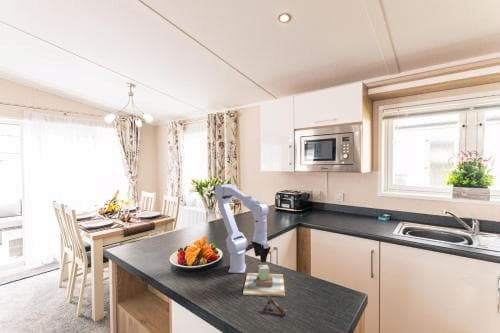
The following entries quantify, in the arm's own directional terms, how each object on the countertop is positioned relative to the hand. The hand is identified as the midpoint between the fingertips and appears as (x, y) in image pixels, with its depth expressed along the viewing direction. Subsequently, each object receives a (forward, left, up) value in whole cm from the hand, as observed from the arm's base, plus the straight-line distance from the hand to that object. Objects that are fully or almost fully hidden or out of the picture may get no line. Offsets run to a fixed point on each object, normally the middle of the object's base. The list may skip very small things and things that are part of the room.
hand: (260, 258), depth 111 cm
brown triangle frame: (+24, +6, -10) cm, 27 cm away
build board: (+5, +2, -9) cm, 11 cm away
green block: (+5, +2, -6) cm, 8 cm away
